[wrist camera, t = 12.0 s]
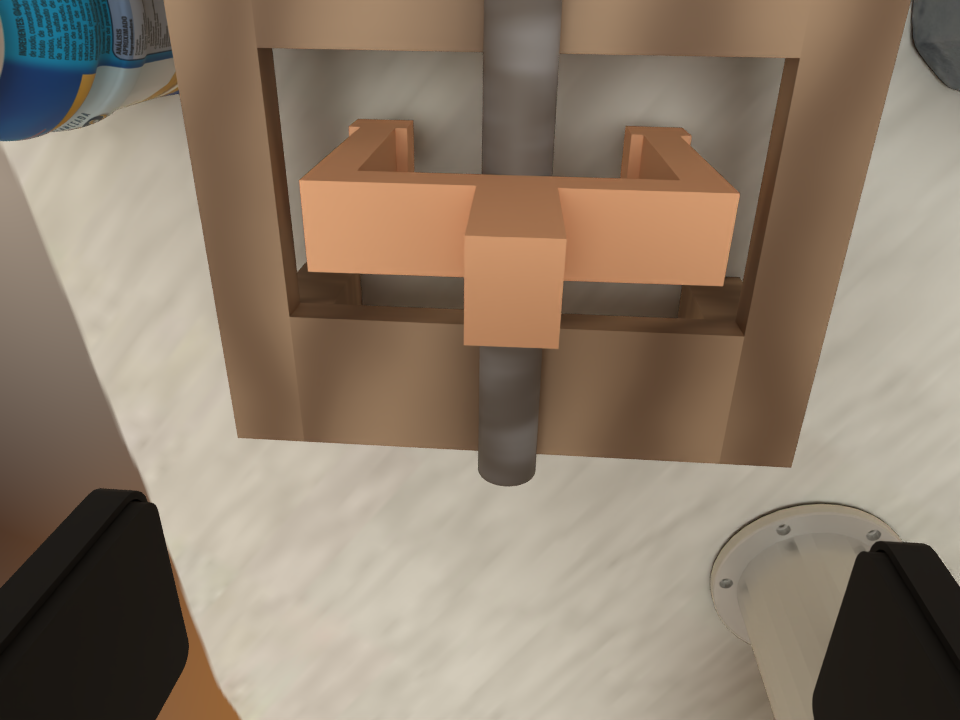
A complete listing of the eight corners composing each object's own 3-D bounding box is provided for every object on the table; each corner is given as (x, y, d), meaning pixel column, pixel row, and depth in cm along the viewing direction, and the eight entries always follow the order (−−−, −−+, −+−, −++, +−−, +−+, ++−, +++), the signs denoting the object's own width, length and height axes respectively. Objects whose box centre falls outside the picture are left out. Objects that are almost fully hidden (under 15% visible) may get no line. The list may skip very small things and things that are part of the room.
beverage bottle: (269, -40, 34) (-28, -68, 16) (216, 124, 38) (-73, 247, 20) (96, -137, 33) (-429, -280, 15) (58, 43, 36) (-397, 97, 19)
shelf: (813, -116, 31) (1002, -187, 18) (727, 343, 41) (809, 503, 28) (267, -119, 33) (91, -186, 20) (313, 325, 43) (216, 469, 30)
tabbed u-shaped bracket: (682, 127, 32) (816, 247, 17) (672, 194, 33) (789, 358, 19) (358, 118, 33) (223, 227, 18) (362, 185, 34) (240, 336, 19)
